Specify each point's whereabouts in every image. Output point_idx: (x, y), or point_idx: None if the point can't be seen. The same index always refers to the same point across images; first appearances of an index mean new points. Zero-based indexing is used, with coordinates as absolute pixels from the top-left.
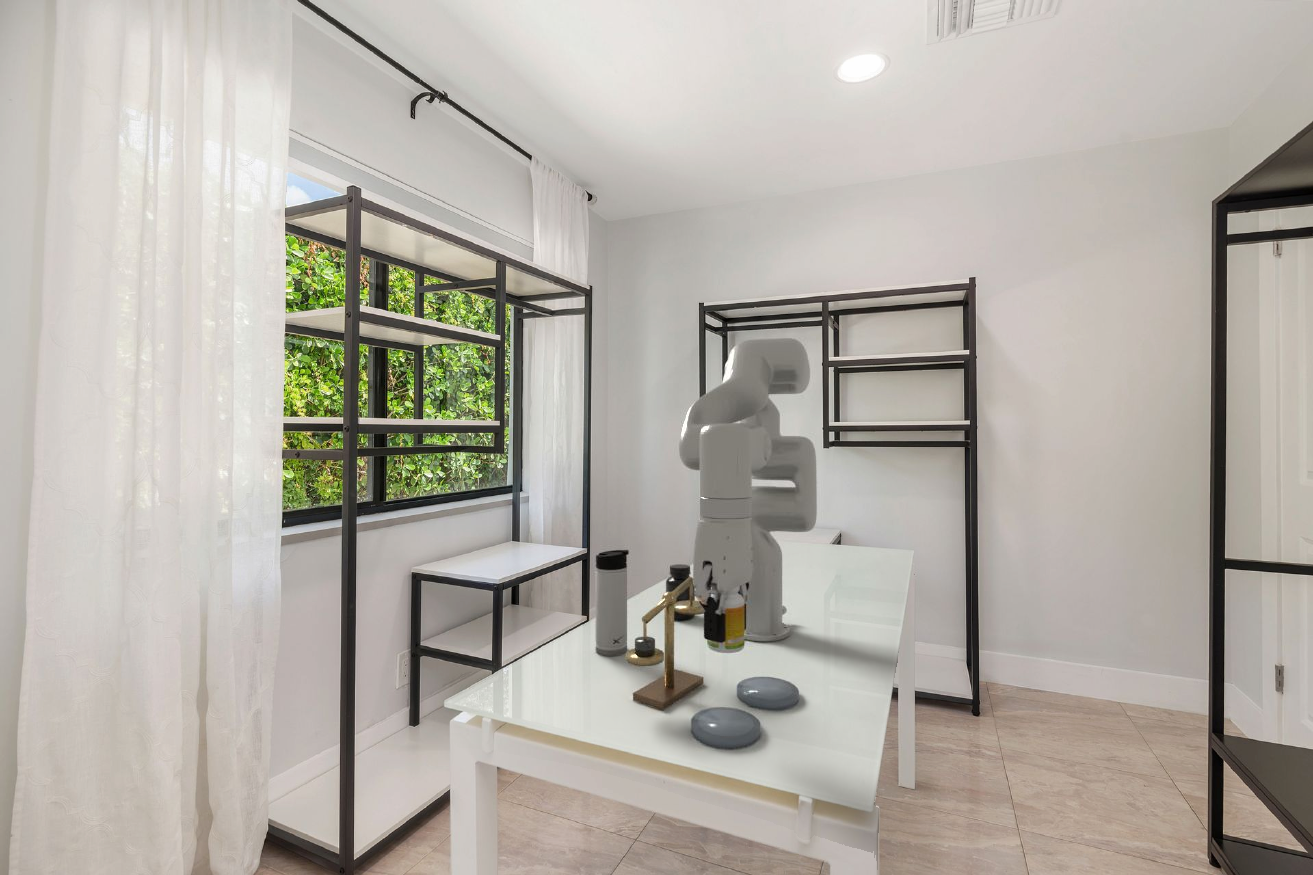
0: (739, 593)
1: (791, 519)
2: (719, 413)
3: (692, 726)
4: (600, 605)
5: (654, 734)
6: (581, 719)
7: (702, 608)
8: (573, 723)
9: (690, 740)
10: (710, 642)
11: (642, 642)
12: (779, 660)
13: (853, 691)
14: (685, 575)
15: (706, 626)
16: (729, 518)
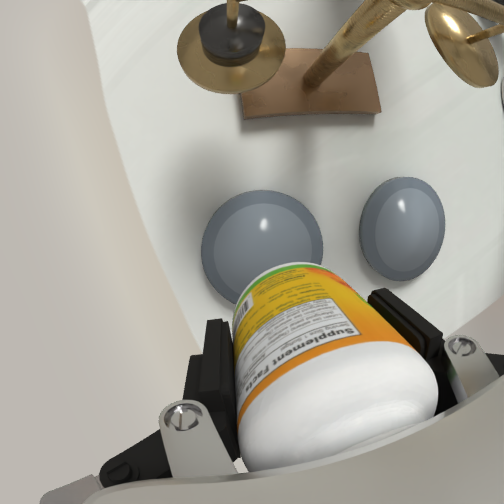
0: (453, 404)
1: None
2: None
3: (211, 219)
4: None
5: (167, 170)
6: (126, 57)
7: (159, 421)
8: (110, 62)
9: (196, 227)
10: (234, 317)
11: (208, 34)
12: (490, 176)
13: (458, 303)
14: None
15: (187, 372)
16: None
